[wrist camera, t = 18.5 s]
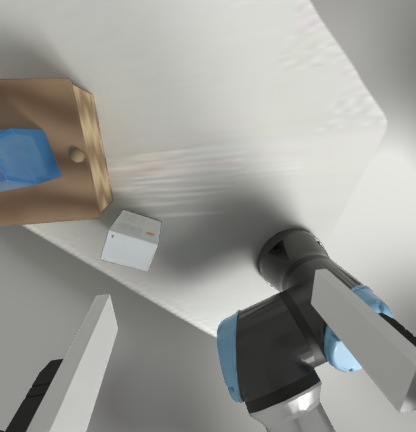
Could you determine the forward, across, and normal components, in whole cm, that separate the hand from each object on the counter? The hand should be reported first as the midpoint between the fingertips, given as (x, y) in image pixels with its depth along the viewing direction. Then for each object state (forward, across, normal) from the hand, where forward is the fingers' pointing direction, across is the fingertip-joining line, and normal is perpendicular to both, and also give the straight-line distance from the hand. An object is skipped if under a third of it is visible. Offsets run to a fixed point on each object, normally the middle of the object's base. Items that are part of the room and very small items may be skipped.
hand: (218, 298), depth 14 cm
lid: (+24, -22, +8) cm, 33 cm away
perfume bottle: (+23, -22, +8) cm, 33 cm away
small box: (+32, -11, -7) cm, 34 cm away
